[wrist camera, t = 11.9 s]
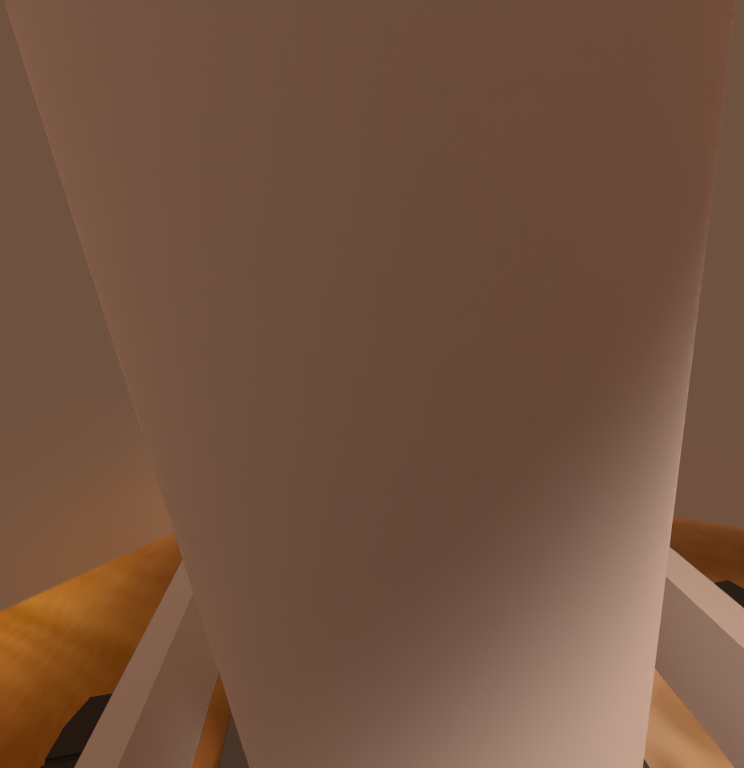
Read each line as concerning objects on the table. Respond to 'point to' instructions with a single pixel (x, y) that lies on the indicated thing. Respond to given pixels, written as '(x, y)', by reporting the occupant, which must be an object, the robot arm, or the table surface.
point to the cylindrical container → (403, 345)
